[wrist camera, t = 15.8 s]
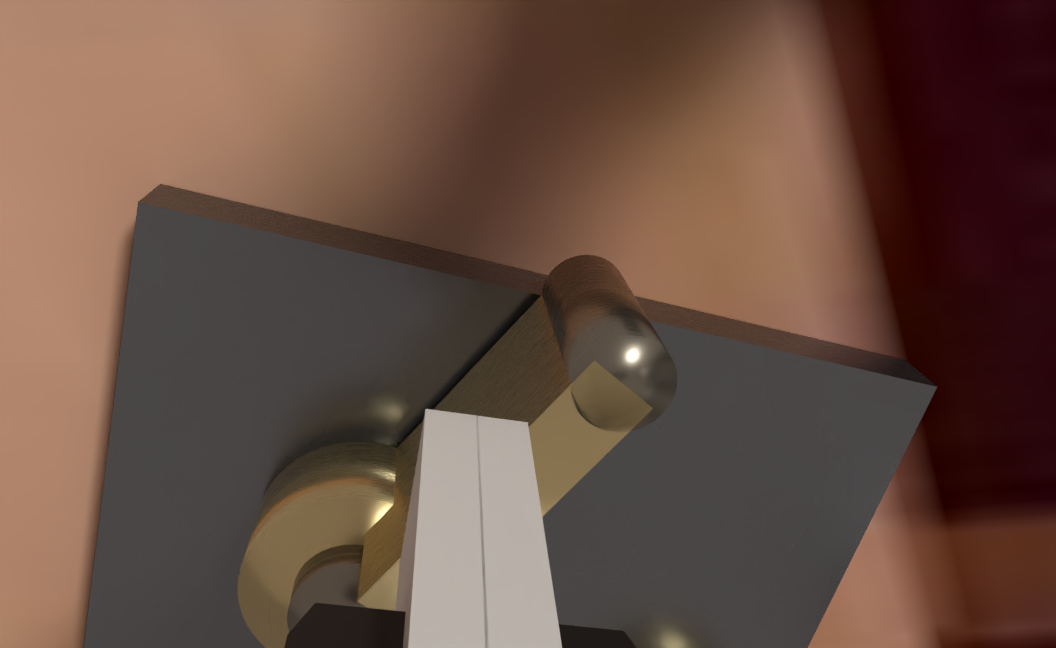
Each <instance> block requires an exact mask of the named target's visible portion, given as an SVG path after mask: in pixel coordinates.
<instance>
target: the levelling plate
mask: <svg viewBox="0 0 1056 648" xmlns="http://www.w3.org/2000/svg"><path fill="white" fill-rule="evenodd" d="M547 277H548V275H543V274H539V273H535V272H531V271H526V270H522V269H518V268H514V267H509V266H505V265H501V264H497V263H492V262H488V261H484V260H480V259H476V258H471V257H467V256H463V255H459V254H454V253H450V252H446V251H442V250H437V249H433V248H429V247H425V246H421V245H416V244H412V243H408V242H404V241H399V240H395V239H391V238H387V237H382V236H378V235H374V234H370V233H366V232H361V231H357V230H353V229H349V228H344V227H340V226H336V225H332V224H327V223H323V222H319V221H315V220H310V219H306V218H302V217H298V216H294V215H289V214H285V213H281V212H277V211H272V210H268V209H264V208H260V207H255V206H251V205H247V204H243V203H239V202H234V201H230V200H226V199H222V198H217V197H213V196H209V195H205V194H200V193H196V192H192V191H188V190H184V189H179V188H175V187H171V186H167V185H162V184H160V185H159V186H157V187H156V188H155V189H154V190H152V191H151V192H150V193H149V194H148V195H146V196H145V197H144V198H143V199H141V200H140V201H139V202H138V208H137V216H136V224H135V232H134V241H133V249H132V257H131V265H130V273H129V281H128V290H127V298H126V306H125V314H124V322H123V330H122V339H121V347H120V355H119V363H118V371H117V379H116V388H115V396H114V404H113V412H112V420H111V428H110V437H109V445H108V453H107V461H106V469H105V478H104V486H103V494H102V502H101V510H100V518H99V527H98V535H97V543H96V551H95V559H94V567H93V576H92V584H91V592H90V600H89V608H88V616H87V625H86V633H85V641H84V648H265V647H264V646H263V645H262V644H261V643H260V642H259V640H258V639H257V638H256V637H255V636H254V634H253V633H252V632H251V630H250V629H249V627H248V625H247V623H246V621H245V619H244V617H243V615H242V612H241V608H240V605H239V599H238V578H239V573H240V568H241V565H242V562H243V559H244V556H245V552H246V549H247V546H248V543H249V540H250V537H251V534H252V530H253V527H254V524H255V521H256V518H257V515H258V512H259V508H260V505H261V503H262V500H263V497H264V495H265V493H266V491H267V489H268V488H269V486H270V484H271V483H272V482H273V480H274V479H275V478H276V477H277V475H278V474H279V473H280V472H281V471H283V470H284V469H285V468H286V467H287V466H288V465H289V464H291V463H292V462H294V461H295V460H296V459H298V458H300V457H301V456H303V455H305V454H307V453H309V452H311V451H314V450H316V449H319V448H321V447H325V446H329V445H333V444H338V443H345V442H374V443H380V444H385V445H390V446H393V447H396V448H398V447H399V446H400V445H401V443H402V442H403V441H404V440H405V439H406V438H407V437H408V436H409V435H410V434H411V433H412V432H413V431H414V430H415V429H416V428H417V426H418V425H419V424H420V423H421V422H422V421H423V420H424V415H425V409H431V410H434V408H435V407H436V406H437V405H438V404H439V403H440V402H441V401H442V400H443V399H444V398H445V397H446V396H447V395H448V394H449V393H450V392H451V390H452V389H453V388H454V387H455V386H456V385H457V384H458V383H459V382H460V381H461V380H462V379H463V378H464V377H465V376H466V375H467V373H468V372H469V371H470V370H471V369H472V368H473V367H474V366H475V365H476V364H477V363H478V362H479V361H480V360H481V359H482V358H483V357H484V355H485V354H486V353H487V352H488V351H489V350H490V349H491V348H492V347H493V346H494V345H495V344H496V343H497V342H498V341H499V340H500V338H501V337H502V336H503V335H504V334H505V333H506V332H507V331H508V330H509V329H510V328H511V327H512V326H513V325H514V324H515V323H516V322H517V320H518V319H519V318H520V317H521V316H522V315H523V314H524V313H525V312H526V311H527V310H528V309H529V308H530V307H531V306H532V305H533V304H534V302H535V301H536V300H537V299H538V298H539V297H540V296H541V295H542V290H543V286H544V283H545V281H546V279H547ZM635 298H636V299H637V301H638V303H639V304H640V306H641V308H642V309H643V311H644V313H645V314H646V316H647V318H648V319H649V321H650V323H651V324H652V326H653V328H654V329H655V331H656V333H657V334H658V336H659V338H660V339H661V341H662V343H663V344H664V346H665V348H666V349H667V351H668V353H669V354H670V356H671V358H672V360H673V361H674V364H675V367H676V371H677V388H676V392H675V395H674V398H673V400H672V402H671V403H670V405H669V407H668V408H667V409H666V411H665V412H664V413H663V414H662V415H661V416H660V417H659V418H657V419H656V420H655V421H653V422H652V423H650V424H649V425H647V426H645V427H642V428H640V429H637V430H633V431H630V432H629V433H628V434H627V435H626V436H625V437H624V438H623V439H621V440H620V441H619V442H618V443H617V444H616V445H615V446H614V447H613V448H612V449H611V450H610V451H609V452H608V453H607V454H606V455H605V456H604V457H603V458H602V459H601V460H600V461H599V462H598V463H597V464H596V465H595V466H594V467H593V468H592V469H591V470H590V471H589V472H588V473H587V474H586V475H585V476H584V477H583V478H582V479H580V480H579V481H578V482H577V483H576V484H575V485H574V486H573V487H572V488H571V489H570V490H569V491H568V492H567V493H566V494H565V495H564V496H563V497H562V498H561V499H560V500H559V501H558V502H557V503H556V504H555V505H554V506H553V507H552V508H551V509H550V510H549V511H548V512H547V513H546V514H545V515H544V516H543V517H542V519H543V526H544V532H545V539H546V545H547V552H548V558H549V565H550V571H551V578H552V584H553V591H554V598H555V604H556V611H557V617H558V624H562V625H572V626H582V627H592V628H601V629H611V630H621V631H624V632H625V633H626V634H627V636H628V637H629V638H630V640H631V641H632V642H633V644H634V645H635V646H636V648H808V646H809V644H810V642H811V640H812V638H813V636H814V634H815V632H816V630H817V628H818V625H819V623H820V621H821V619H822V617H823V615H824V613H825V611H826V609H827V607H828V605H829V603H830V601H831V599H832V597H833V595H834V593H835V591H836V589H837V587H838V585H839V583H840V581H841V579H842V577H843V575H844V573H845V571H846V569H847V567H848V565H849V563H850V561H851V559H852V557H853V555H854V553H855V551H856V549H857V547H858V545H859V543H860V541H861V539H862V537H863V535H864V533H865V531H866V529H867V527H868V525H869V523H870V521H871V519H872V517H873V515H874V513H875V511H876V509H877V507H878V505H879V503H880V501H881V499H882V497H883V495H884V493H885V491H886V489H887V487H888V485H889V483H890V481H891V479H892V477H893V475H894V473H895V471H896V469H897V467H898V465H899V463H900V461H901V459H902V457H903V455H904V453H905V451H906V449H907V446H908V444H909V442H910V440H911V438H912V436H913V434H914V432H915V430H916V428H917V426H918V424H919V422H920V420H921V418H922V416H923V414H924V412H925V410H926V408H927V406H928V404H929V402H930V400H931V398H932V396H933V394H934V392H935V390H936V388H937V386H935V385H934V384H933V383H932V382H931V381H930V380H928V379H927V378H926V377H925V376H924V375H922V374H921V373H920V372H919V371H918V370H916V369H915V368H914V367H913V366H912V365H911V364H909V363H908V362H907V361H906V360H903V359H899V358H895V357H890V356H886V355H882V354H878V353H873V352H869V351H865V350H861V349H856V348H852V347H848V346H844V345H840V344H835V343H831V342H827V341H823V340H818V339H814V338H810V337H806V336H801V335H797V334H793V333H789V332H785V331H780V330H776V329H772V328H768V327H763V326H759V325H755V324H751V323H746V322H742V321H738V320H734V319H729V318H725V317H721V316H717V315H713V314H708V313H704V312H700V311H696V310H691V309H687V308H683V307H679V306H674V305H670V304H666V303H662V302H658V301H653V300H649V299H645V298H641V297H636V296H635Z"/></svg>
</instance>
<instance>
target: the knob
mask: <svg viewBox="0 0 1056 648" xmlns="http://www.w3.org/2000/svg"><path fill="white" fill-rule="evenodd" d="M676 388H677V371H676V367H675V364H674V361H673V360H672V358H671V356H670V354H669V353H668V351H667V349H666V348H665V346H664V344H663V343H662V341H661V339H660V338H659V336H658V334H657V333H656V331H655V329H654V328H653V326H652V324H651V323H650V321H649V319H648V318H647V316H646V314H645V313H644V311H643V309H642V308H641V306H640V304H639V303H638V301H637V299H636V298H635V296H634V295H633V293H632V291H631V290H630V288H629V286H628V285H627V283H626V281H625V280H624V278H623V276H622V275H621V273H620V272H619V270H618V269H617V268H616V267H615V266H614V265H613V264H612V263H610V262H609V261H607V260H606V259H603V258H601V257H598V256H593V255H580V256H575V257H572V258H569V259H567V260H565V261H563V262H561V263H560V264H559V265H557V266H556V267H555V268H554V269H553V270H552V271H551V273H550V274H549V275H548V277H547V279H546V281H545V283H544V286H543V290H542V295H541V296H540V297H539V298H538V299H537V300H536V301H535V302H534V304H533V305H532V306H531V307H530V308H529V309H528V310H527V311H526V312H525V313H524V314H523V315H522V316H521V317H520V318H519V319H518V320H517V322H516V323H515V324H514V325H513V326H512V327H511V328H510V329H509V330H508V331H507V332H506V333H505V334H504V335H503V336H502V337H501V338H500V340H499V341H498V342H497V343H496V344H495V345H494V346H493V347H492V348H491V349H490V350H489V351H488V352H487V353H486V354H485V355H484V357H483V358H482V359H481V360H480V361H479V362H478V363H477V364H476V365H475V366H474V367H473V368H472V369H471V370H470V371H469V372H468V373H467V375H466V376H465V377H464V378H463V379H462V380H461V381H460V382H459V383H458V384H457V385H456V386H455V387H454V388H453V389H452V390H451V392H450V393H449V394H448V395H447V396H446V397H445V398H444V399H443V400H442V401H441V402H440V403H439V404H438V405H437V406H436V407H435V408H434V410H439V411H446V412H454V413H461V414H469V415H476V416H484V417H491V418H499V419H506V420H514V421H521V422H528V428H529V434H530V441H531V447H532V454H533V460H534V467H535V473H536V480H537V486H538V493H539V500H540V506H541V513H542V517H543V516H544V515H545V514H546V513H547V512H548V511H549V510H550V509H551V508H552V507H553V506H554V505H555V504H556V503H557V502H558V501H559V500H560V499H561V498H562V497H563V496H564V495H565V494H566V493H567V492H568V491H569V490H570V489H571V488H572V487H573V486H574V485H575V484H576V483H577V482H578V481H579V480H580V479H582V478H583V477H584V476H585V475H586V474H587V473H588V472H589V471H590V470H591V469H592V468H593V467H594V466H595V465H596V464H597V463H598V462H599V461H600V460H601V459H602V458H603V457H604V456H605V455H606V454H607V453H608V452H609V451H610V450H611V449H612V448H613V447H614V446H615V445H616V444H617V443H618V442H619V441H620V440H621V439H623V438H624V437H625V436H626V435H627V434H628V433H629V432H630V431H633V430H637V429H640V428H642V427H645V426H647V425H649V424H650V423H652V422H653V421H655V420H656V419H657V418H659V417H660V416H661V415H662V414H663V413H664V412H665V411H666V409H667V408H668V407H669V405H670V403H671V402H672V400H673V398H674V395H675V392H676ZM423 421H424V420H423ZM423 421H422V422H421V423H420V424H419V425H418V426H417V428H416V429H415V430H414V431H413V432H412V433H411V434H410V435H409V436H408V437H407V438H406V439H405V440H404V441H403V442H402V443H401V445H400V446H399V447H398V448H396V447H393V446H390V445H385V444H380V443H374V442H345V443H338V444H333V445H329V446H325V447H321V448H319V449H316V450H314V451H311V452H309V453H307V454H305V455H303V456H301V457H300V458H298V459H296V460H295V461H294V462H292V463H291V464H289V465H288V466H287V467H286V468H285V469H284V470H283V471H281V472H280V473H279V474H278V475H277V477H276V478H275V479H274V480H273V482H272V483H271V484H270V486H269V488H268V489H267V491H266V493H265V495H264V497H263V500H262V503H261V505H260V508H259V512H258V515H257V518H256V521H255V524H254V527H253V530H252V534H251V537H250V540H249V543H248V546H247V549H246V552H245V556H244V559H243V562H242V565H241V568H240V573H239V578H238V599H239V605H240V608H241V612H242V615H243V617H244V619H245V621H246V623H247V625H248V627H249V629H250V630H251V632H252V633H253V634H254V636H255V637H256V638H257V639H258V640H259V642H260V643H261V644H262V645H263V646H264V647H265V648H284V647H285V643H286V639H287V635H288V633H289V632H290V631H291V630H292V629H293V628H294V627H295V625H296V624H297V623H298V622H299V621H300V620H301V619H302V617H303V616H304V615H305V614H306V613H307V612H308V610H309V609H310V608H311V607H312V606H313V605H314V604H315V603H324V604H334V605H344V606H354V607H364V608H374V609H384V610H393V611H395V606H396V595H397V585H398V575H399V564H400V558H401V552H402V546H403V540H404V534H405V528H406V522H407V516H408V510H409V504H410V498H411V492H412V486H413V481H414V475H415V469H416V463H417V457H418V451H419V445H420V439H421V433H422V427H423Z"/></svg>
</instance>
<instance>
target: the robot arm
mask: <svg viewBox="0 0 1056 648" xmlns="http://www.w3.org/2000/svg"><path fill="white" fill-rule="evenodd" d="M284 648H636V646H635V645H634V644H633V642H632V641H631V640H630V638H629V637H628V636H627V634H626V633H625V632H624V631H621V630H611V629H601V628H592V627H582V626H572V625H562V624H558V617H557V611H556V604H555V598H554V591H553V584H552V578H551V571H550V565H549V558H548V552H547V545H546V539H545V532H544V526H543V519H542V513H541V506H540V500H539V493H538V486H537V480H536V473H535V467H534V460H533V454H532V447H531V441H530V434H529V428H528V422H521V421H514V420H506V419H499V418H491V417H484V416H476V415H469V414H461V413H454V412H446V411H439V410H431V409H425V415H424V421H423V427H422V433H421V439H420V445H419V451H418V457H417V463H416V469H415V475H414V481H413V486H412V492H411V498H410V504H409V510H408V516H407V522H406V528H405V534H404V540H403V546H402V552H401V558H400V564H399V575H398V585H397V595H396V606H395V611H393V610H384V609H374V608H364V607H354V606H344V605H334V604H324V603H315V604H314V605H313V606H312V607H311V608H310V609H309V610H308V612H307V613H306V614H305V615H304V616H303V617H302V619H301V620H300V621H299V622H298V623H297V624H296V625H295V627H294V628H293V629H292V630H291V631H290V632H289V633H288V635H287V639H286V643H285V647H284Z"/></svg>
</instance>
